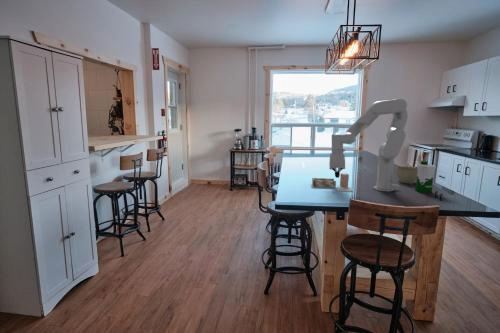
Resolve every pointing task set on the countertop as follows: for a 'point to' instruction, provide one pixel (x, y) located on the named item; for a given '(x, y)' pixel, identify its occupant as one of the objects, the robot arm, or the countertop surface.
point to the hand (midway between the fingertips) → (337, 177)
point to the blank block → (344, 180)
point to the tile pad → (344, 189)
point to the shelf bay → (323, 182)
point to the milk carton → (425, 177)
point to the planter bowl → (407, 174)
